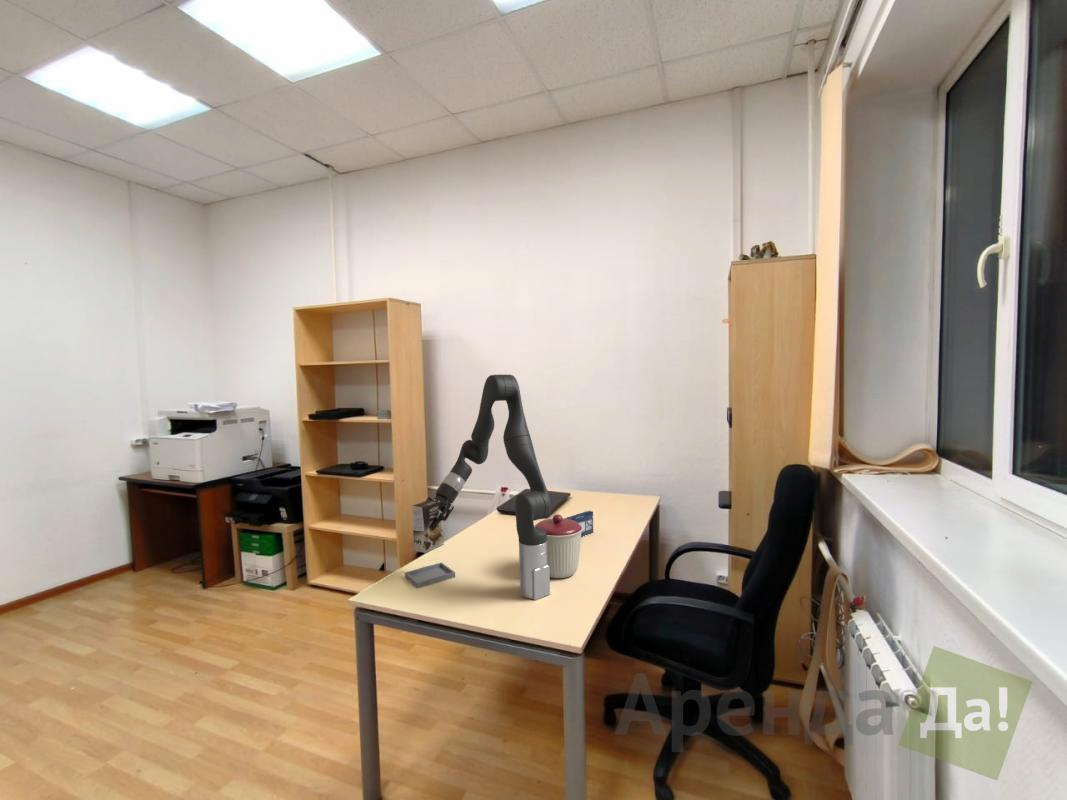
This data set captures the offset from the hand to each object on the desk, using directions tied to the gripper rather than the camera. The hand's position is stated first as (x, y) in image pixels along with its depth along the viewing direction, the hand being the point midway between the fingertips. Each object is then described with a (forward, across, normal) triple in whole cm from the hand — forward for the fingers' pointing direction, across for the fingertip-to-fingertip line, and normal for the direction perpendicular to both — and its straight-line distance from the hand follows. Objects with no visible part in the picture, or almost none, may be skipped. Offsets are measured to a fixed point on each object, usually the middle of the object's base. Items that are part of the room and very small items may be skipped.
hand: (424, 526), depth 164 cm
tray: (+12, 0, +14) cm, 19 cm away
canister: (-11, +32, +38) cm, 51 cm away
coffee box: (+5, 0, +7) cm, 8 cm away
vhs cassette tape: (-33, +15, +61) cm, 71 cm away
